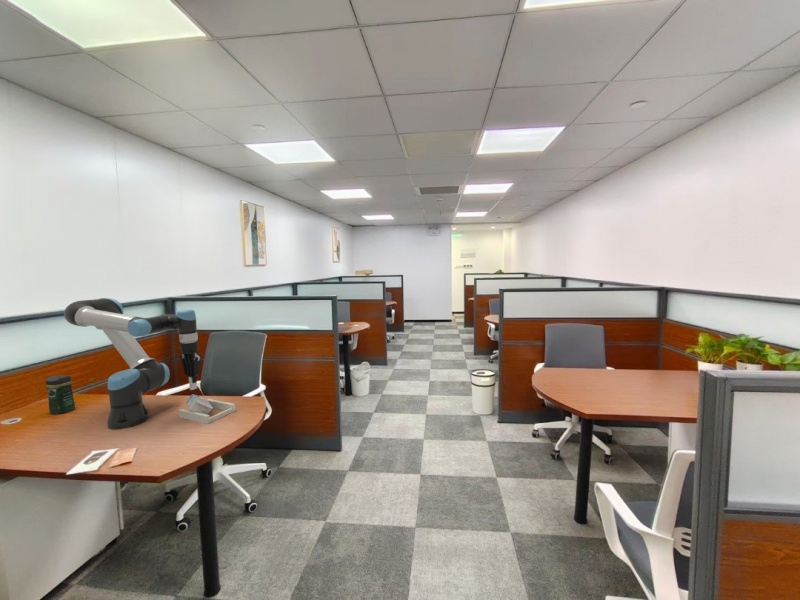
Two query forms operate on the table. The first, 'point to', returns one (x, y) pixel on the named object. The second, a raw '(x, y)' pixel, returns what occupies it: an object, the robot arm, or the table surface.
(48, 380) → the coffee jar
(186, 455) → the table surface
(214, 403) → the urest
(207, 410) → the ink box
